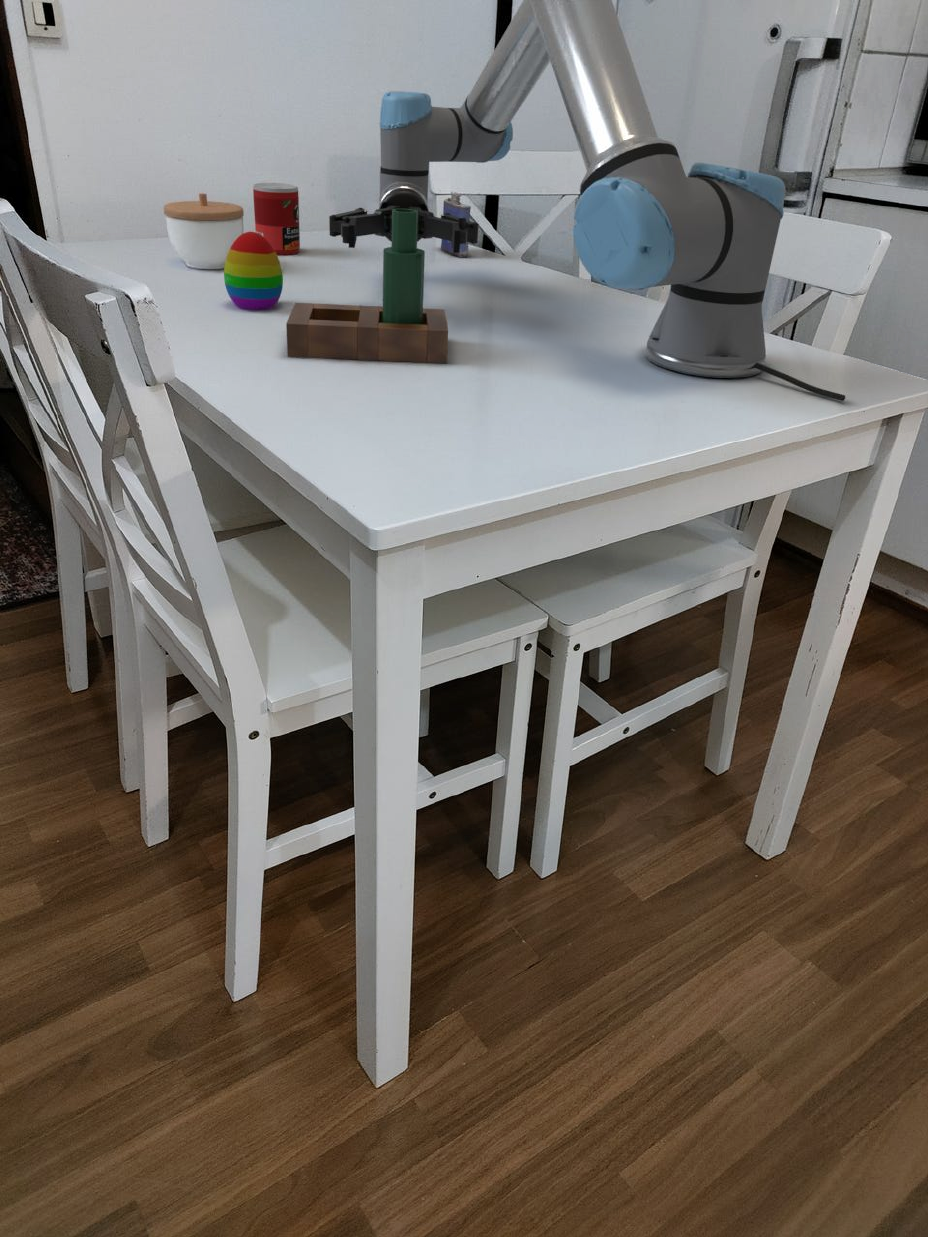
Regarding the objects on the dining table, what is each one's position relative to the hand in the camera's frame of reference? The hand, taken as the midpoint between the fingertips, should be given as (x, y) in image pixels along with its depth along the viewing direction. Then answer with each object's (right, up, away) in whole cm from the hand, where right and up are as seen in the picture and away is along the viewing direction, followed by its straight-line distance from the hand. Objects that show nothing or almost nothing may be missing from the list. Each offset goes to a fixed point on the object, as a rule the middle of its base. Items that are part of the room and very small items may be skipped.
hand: (404, 239), depth 120 cm
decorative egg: (-22, -4, +15) cm, 27 cm away
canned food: (-26, +18, +51) cm, 60 cm away
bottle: (0, -14, -1) cm, 14 cm away
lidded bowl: (-35, +10, +37) cm, 52 cm away
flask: (+6, +21, +59) cm, 63 cm away
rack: (-4, -14, -1) cm, 15 cm away
